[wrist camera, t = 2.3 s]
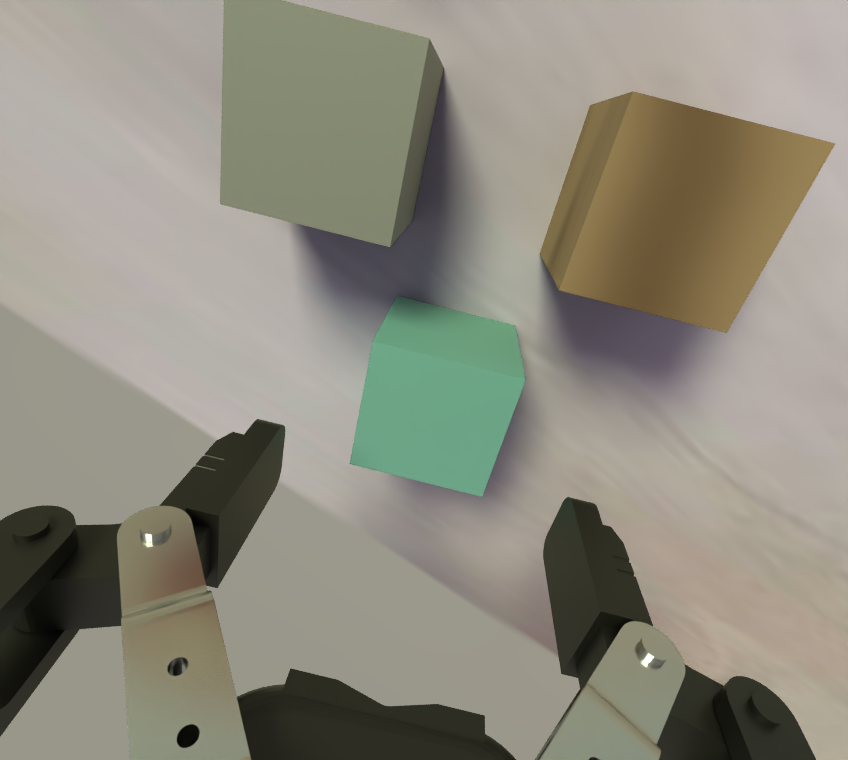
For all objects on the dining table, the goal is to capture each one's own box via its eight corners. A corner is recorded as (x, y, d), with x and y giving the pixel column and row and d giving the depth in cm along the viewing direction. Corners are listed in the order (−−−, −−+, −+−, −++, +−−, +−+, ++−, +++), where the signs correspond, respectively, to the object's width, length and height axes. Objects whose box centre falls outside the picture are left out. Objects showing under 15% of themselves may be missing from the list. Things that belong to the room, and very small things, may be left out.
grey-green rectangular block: (444, 68, 16) (429, 38, 11) (412, 221, 18) (389, 247, 13) (297, 30, 16) (224, -15, 11) (284, 188, 18) (220, 204, 13)
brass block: (734, 142, 16) (834, 144, 11) (666, 285, 18) (726, 332, 14) (589, 105, 16) (633, 91, 11) (539, 253, 18) (558, 290, 14)
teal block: (515, 325, 19) (525, 380, 15) (481, 424, 22) (482, 496, 17) (397, 295, 19) (372, 341, 15) (376, 397, 22) (349, 463, 17)
